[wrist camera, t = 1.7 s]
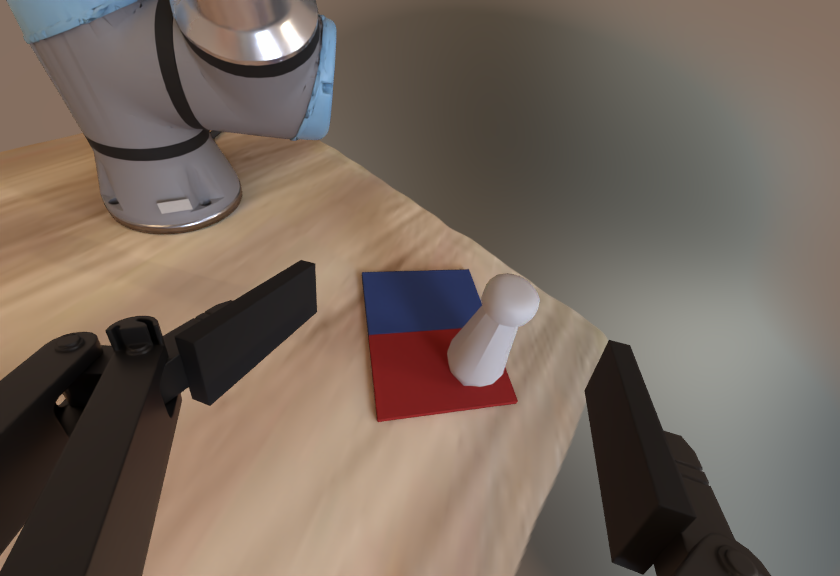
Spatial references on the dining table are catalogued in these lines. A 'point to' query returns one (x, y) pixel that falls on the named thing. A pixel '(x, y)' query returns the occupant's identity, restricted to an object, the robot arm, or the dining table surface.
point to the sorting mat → (422, 343)
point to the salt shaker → (492, 330)
